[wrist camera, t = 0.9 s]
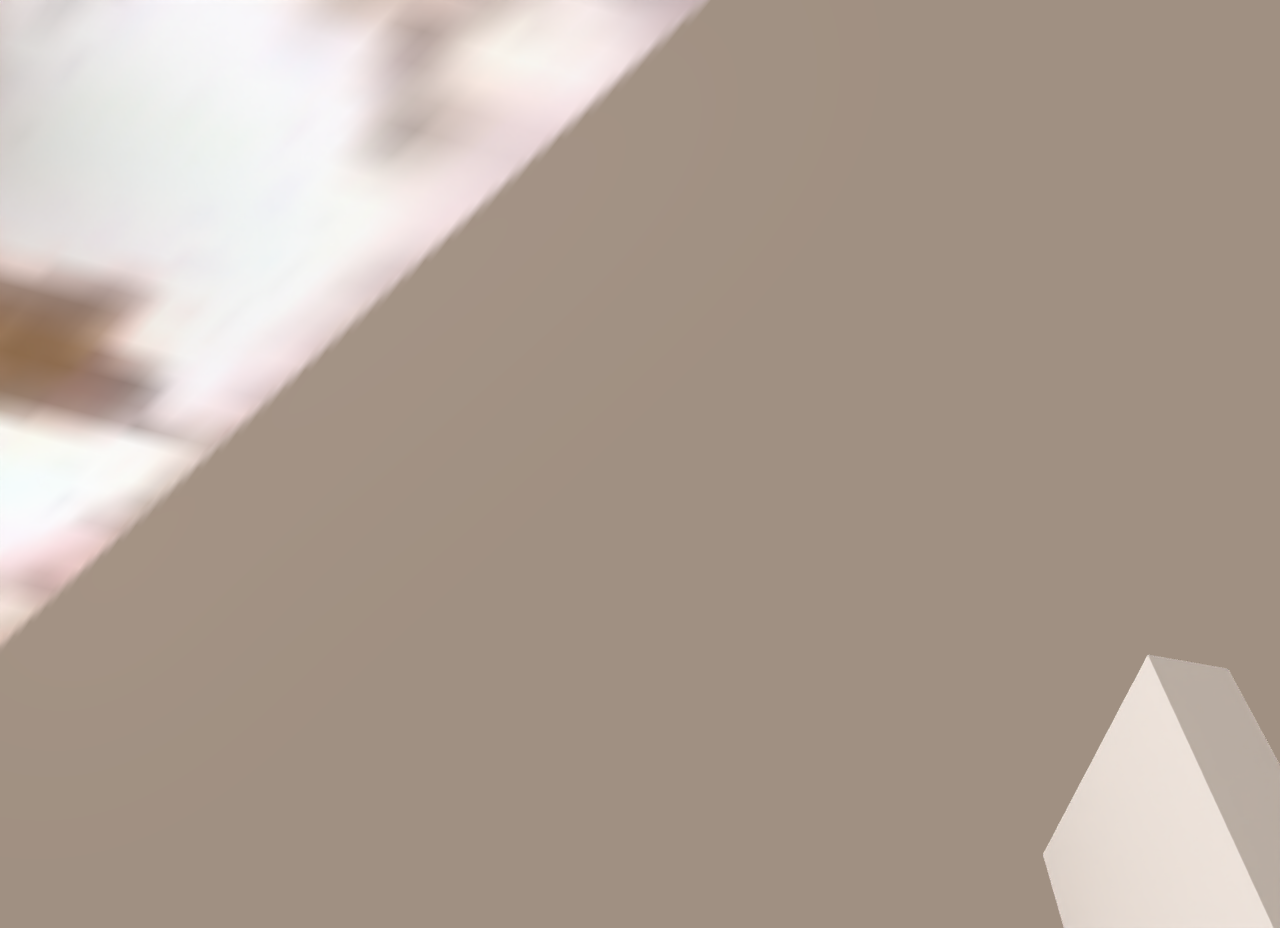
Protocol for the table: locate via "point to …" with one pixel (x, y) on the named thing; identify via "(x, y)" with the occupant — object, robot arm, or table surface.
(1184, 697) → the robot arm
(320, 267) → the table surface
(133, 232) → the table surface
